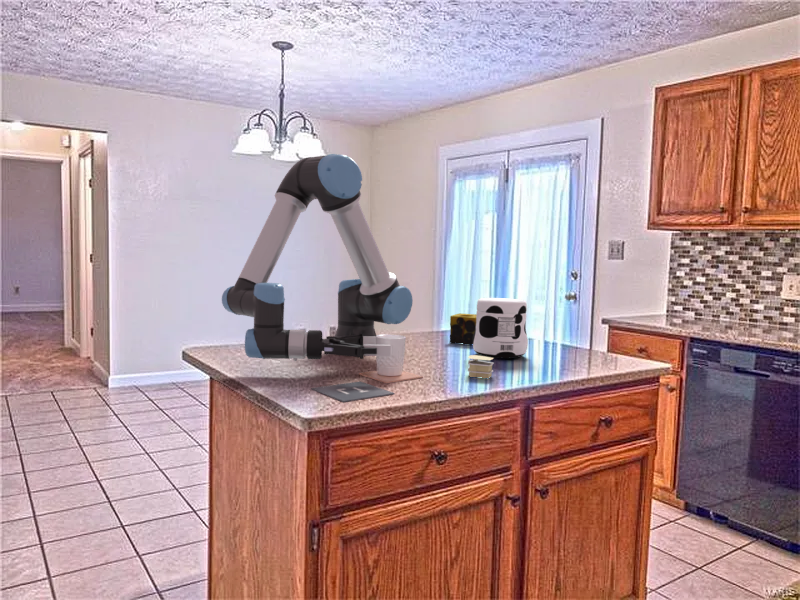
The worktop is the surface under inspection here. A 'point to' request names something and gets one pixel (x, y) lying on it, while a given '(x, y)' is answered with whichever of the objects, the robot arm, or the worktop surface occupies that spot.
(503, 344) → the milk container
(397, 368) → the white cup
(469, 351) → the worktop surface
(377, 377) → the coaster
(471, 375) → the stacked layers on plate
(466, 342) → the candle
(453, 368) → the worktop surface
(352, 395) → the tile
